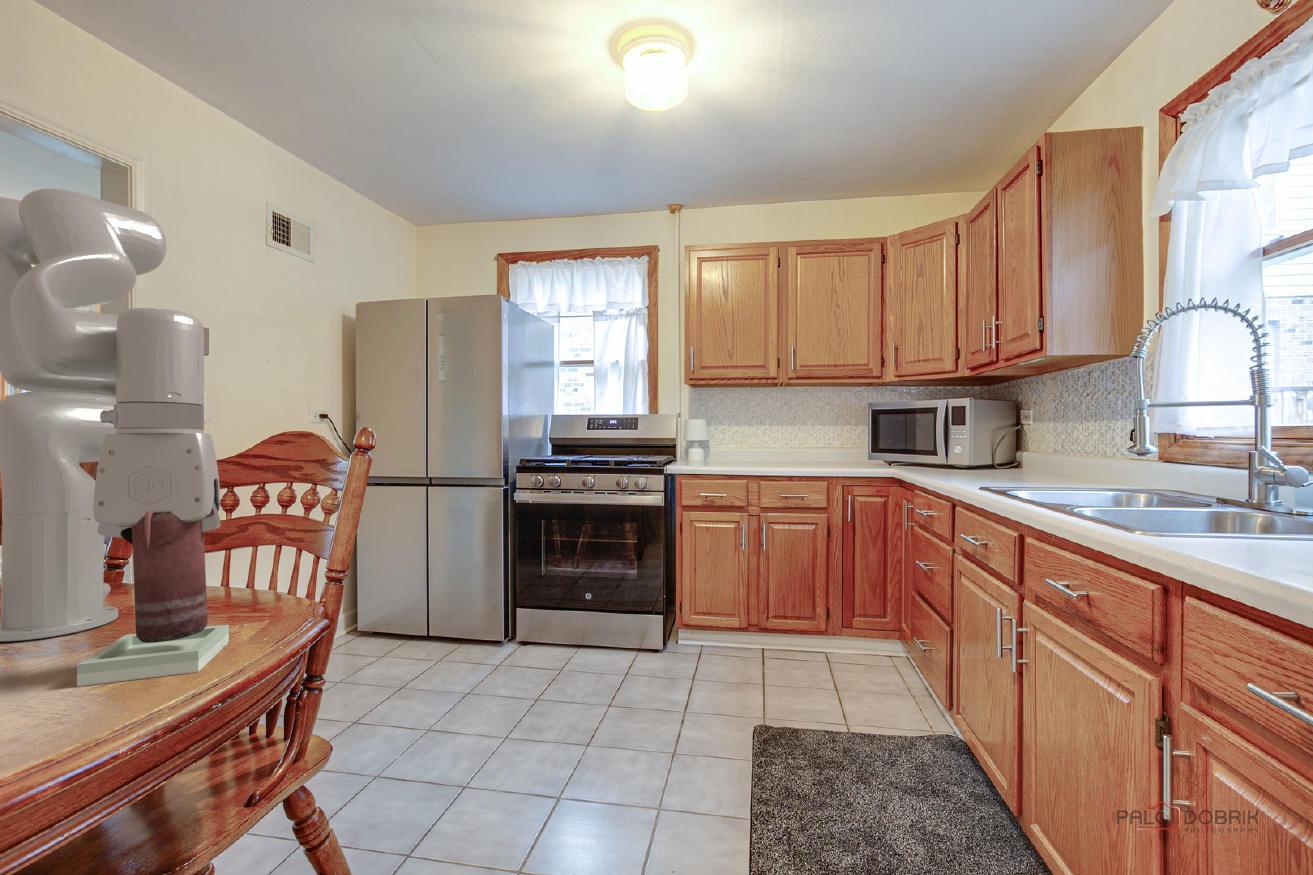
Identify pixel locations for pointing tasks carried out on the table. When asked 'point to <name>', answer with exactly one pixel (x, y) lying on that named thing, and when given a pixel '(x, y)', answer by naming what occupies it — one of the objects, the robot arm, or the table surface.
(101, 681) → the plate
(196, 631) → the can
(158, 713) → the table surface
